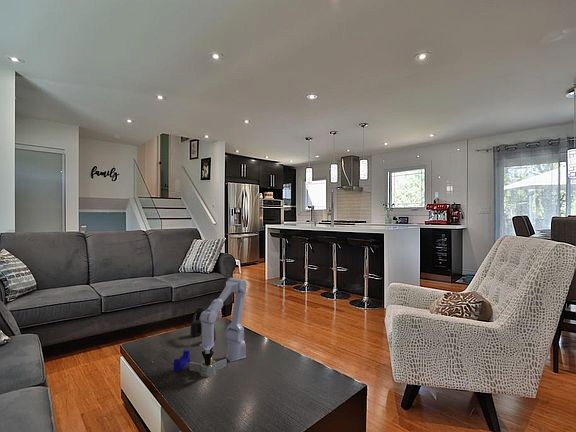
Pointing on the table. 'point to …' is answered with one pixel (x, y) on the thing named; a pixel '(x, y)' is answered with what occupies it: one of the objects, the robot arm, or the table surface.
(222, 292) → the robot arm
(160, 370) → the table surface
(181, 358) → the cable clip
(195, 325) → the headphones
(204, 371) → the steel hinge
